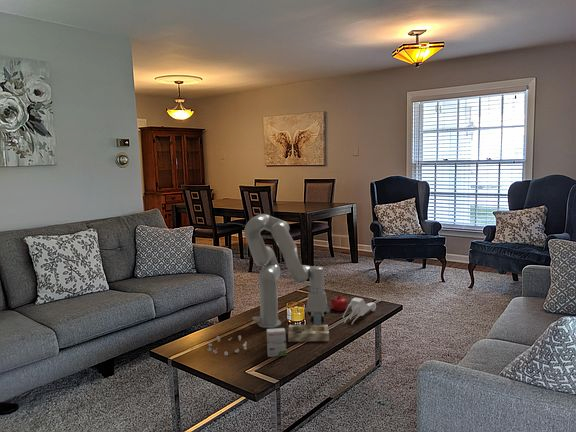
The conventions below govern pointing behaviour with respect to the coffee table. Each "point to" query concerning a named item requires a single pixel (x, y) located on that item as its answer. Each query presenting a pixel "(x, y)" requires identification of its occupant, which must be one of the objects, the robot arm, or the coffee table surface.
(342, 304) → the pomegranate
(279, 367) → the coffee table surface
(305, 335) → the socket block
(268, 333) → the ink box
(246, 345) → the game piece set
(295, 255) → the robot arm
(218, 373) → the coffee table surface
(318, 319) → the grey rectangular block
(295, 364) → the coffee table surface
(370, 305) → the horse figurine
